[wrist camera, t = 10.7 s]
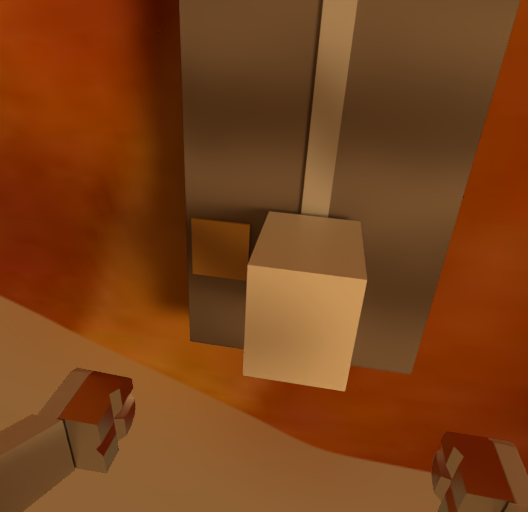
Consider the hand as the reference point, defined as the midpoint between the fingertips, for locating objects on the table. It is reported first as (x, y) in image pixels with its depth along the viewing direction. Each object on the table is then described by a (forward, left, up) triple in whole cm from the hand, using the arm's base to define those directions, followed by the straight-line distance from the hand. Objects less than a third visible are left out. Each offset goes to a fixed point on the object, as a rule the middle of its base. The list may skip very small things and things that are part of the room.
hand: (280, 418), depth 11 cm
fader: (+1, 0, -10) cm, 10 cm away
